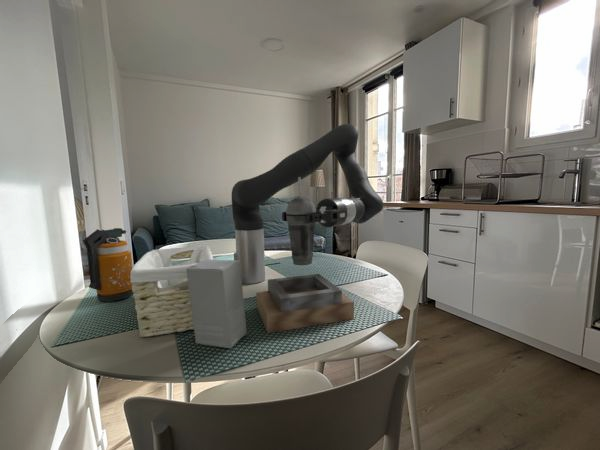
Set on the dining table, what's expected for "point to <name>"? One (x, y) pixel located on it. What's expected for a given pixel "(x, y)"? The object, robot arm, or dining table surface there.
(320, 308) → the cup block
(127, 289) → the canister
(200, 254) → the storage basket
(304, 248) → the beverage cup
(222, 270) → the skincare box
